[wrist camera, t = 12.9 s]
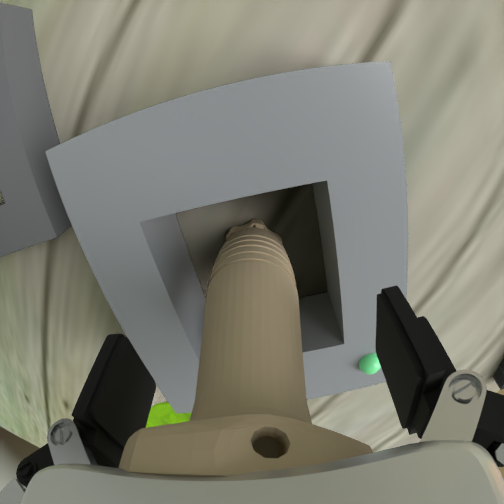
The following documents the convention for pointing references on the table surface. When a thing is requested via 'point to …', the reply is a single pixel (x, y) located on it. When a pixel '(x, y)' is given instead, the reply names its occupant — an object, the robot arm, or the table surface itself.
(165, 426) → the handle
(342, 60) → the table surface
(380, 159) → the port block
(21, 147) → the grey square frame
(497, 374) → the disk drive
